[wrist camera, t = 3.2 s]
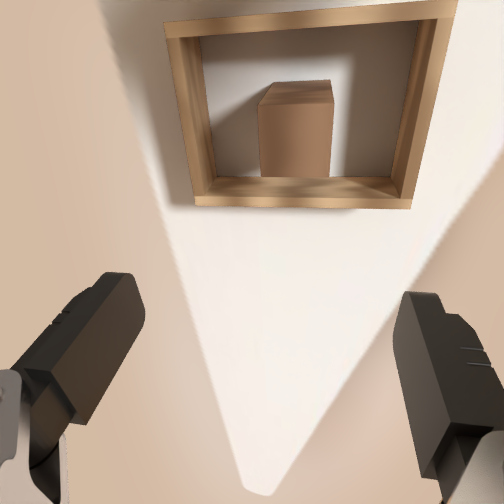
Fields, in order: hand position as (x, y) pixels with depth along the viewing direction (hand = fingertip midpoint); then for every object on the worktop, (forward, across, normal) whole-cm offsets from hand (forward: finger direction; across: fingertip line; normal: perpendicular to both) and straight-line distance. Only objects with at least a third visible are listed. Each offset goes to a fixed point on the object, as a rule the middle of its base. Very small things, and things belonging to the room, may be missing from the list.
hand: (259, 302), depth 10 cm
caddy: (+26, 0, 0) cm, 26 cm away
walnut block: (+26, 0, 0) cm, 26 cm away
